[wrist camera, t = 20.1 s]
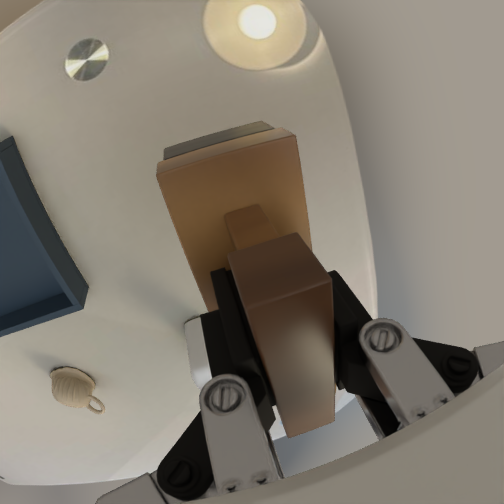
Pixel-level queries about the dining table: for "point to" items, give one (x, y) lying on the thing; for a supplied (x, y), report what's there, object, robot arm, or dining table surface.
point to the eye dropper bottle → (197, 353)
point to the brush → (259, 256)
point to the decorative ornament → (74, 389)
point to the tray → (31, 254)
